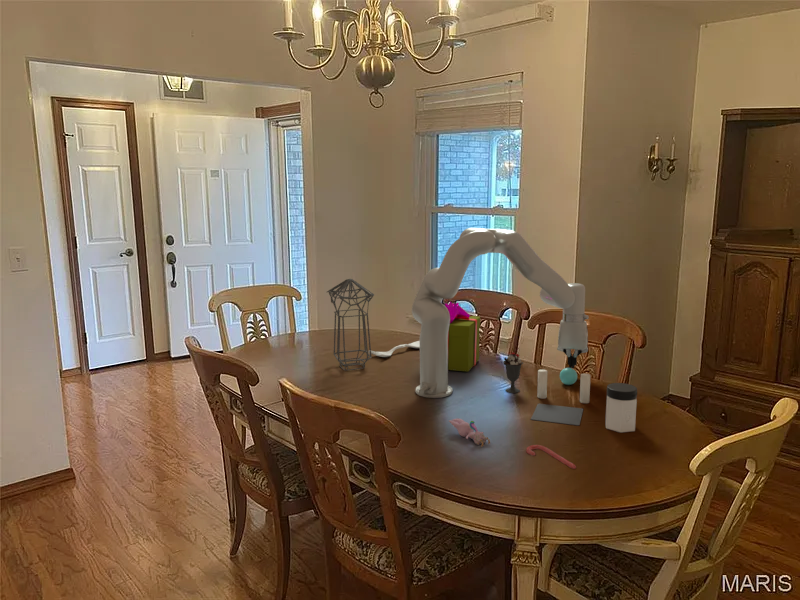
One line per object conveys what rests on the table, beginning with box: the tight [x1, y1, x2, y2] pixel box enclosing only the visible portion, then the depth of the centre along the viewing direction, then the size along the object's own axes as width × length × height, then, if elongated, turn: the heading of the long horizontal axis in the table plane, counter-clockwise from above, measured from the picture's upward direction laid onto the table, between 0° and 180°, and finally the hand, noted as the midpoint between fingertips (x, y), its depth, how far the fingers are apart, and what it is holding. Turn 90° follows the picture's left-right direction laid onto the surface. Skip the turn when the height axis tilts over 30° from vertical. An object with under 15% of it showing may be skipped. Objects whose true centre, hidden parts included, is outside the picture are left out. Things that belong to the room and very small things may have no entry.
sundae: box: [502, 347, 524, 394], centre depth 205 cm, size 7×7×15 cm
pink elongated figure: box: [448, 418, 491, 448], centre depth 168 cm, size 6×6×15 cm
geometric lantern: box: [326, 278, 375, 372], centre depth 232 cm, size 16×16×35 cm
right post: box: [579, 373, 591, 404], centre depth 194 cm, size 3×3×9 cm
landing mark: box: [530, 403, 584, 426], centre depth 185 cm, size 14×14×1 cm
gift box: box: [444, 301, 481, 372], centre depth 235 cm, size 21×21×25 cm
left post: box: [536, 369, 548, 400], centre depth 199 cm, size 3×3×9 cm
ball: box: [559, 367, 578, 386], centre depth 211 cm, size 6×6×6 cm
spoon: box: [368, 340, 420, 358], centre depth 257 cm, size 9×32×4 cm, turn 133°
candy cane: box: [525, 444, 577, 470], centre depth 155 cm, size 6×15×2 cm, turn 25°
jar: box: [604, 382, 638, 434], centre depth 173 cm, size 9×8×12 cm
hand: (572, 366), depth 220 cm, fingers closed
